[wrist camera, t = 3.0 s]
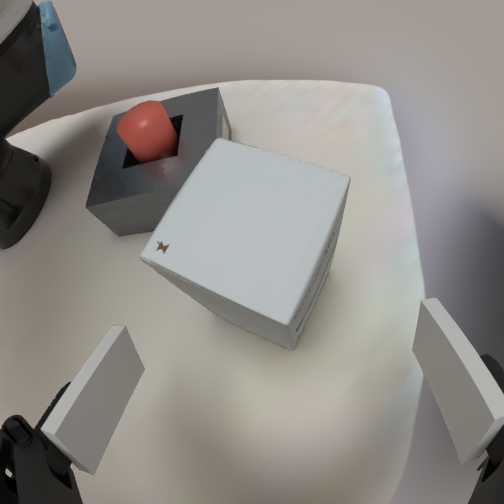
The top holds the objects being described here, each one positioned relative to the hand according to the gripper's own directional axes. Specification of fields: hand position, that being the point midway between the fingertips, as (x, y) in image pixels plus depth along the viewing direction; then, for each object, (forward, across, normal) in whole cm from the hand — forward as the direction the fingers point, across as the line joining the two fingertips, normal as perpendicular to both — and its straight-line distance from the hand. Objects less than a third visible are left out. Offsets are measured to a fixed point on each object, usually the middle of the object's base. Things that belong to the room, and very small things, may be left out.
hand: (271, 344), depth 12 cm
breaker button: (+17, -10, +8) cm, 22 cm away
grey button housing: (+20, -10, +6) cm, 23 cm away
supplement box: (+11, -1, -4) cm, 12 cm away
